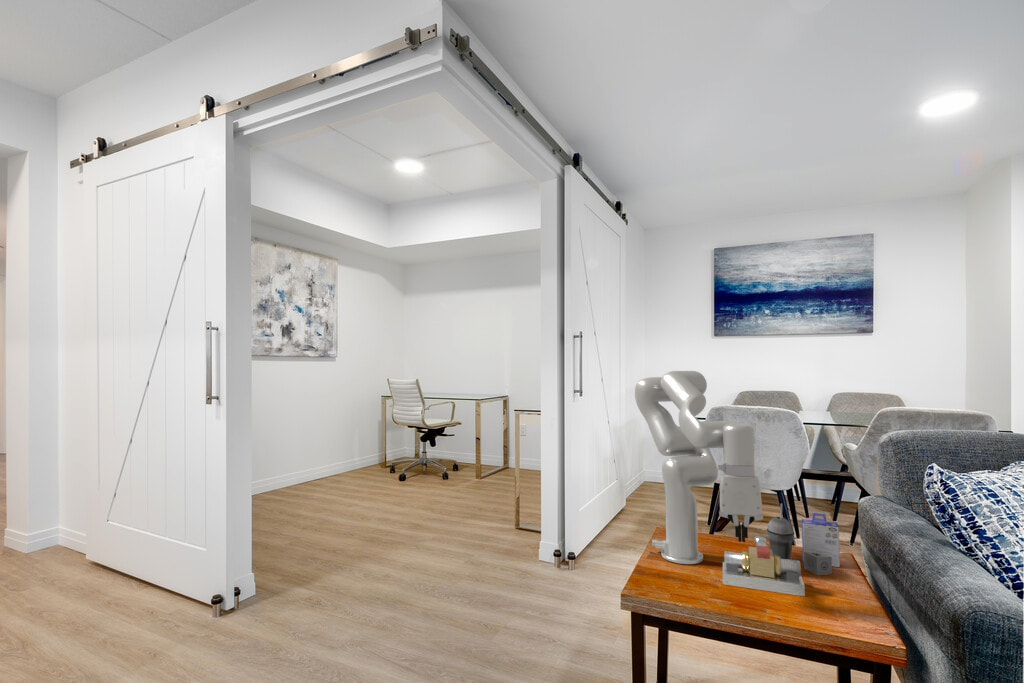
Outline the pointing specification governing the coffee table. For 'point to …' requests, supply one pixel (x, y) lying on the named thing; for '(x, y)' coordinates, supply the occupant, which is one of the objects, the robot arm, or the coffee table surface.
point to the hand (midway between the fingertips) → (741, 540)
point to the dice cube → (817, 562)
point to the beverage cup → (780, 536)
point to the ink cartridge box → (821, 537)
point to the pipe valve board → (763, 582)
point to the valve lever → (762, 548)
